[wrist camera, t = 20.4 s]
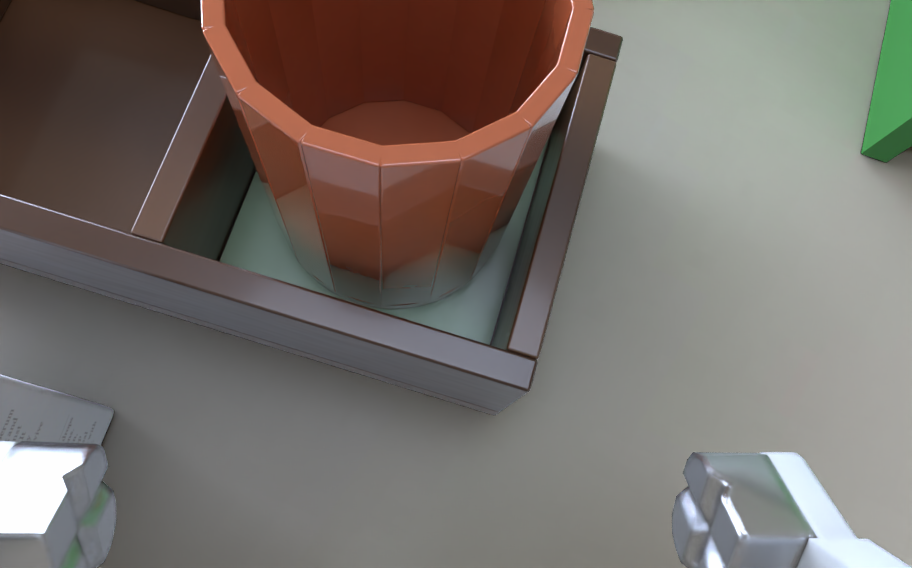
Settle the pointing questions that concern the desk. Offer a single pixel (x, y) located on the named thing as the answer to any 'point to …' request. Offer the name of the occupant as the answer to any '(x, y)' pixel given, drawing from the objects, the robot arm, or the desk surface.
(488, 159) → the cup
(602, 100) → the divided storage box
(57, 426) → the cosmetic box
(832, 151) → the desk surface
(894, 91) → the hardback book
